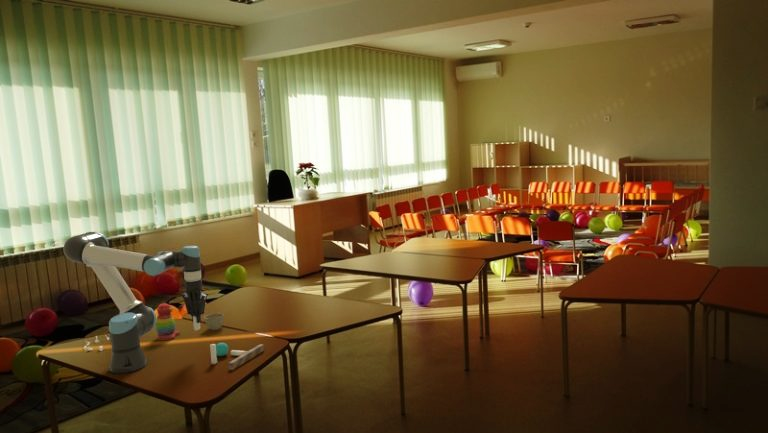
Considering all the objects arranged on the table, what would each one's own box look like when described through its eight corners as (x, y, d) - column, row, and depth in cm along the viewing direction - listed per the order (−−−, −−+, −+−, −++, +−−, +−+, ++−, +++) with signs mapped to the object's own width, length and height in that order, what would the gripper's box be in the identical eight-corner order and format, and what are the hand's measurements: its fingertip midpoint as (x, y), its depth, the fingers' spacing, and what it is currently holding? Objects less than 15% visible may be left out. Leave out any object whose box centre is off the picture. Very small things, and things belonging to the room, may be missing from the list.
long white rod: (232, 370, 249) (232, 363, 249) (229, 369, 250) (228, 362, 249) (264, 350, 271) (263, 344, 271) (260, 350, 272) (259, 344, 271)
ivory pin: (231, 348, 268) (247, 350, 265) (234, 351, 269) (249, 353, 266) (229, 353, 266) (245, 354, 263) (232, 356, 268) (247, 357, 265)
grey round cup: (204, 328, 313) (202, 315, 312) (223, 324, 317) (221, 312, 316) (206, 333, 304) (205, 319, 303) (226, 329, 308) (225, 316, 307)
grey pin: (215, 364, 257) (213, 345, 256) (210, 364, 258) (208, 345, 257) (218, 362, 259) (216, 344, 258) (214, 362, 260) (212, 343, 259)
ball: (221, 342, 264) (210, 345, 266) (224, 356, 264) (213, 358, 265) (229, 340, 270) (218, 342, 272) (232, 353, 269) (221, 355, 271)
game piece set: (114, 336, 309) (113, 329, 308) (133, 343, 296) (132, 335, 296) (76, 348, 294) (75, 340, 294) (94, 355, 281) (93, 347, 281)
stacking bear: (173, 340, 296) (169, 306, 294) (153, 341, 296) (149, 307, 294) (181, 333, 306) (177, 300, 304) (162, 334, 307) (158, 301, 305)
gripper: (210, 278, 268) (213, 328, 271) (187, 277, 273) (191, 325, 276) (199, 282, 261) (203, 333, 264) (176, 280, 266) (180, 330, 269)
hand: (197, 329), depth 270 cm, fingers closed
